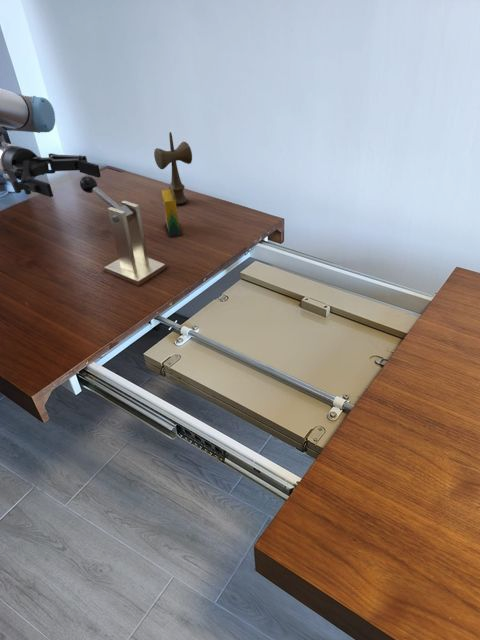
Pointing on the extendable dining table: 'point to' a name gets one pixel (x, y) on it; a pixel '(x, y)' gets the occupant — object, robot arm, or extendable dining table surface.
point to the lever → (103, 195)
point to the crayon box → (170, 212)
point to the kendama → (174, 166)
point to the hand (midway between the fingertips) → (75, 180)
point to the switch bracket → (131, 247)
